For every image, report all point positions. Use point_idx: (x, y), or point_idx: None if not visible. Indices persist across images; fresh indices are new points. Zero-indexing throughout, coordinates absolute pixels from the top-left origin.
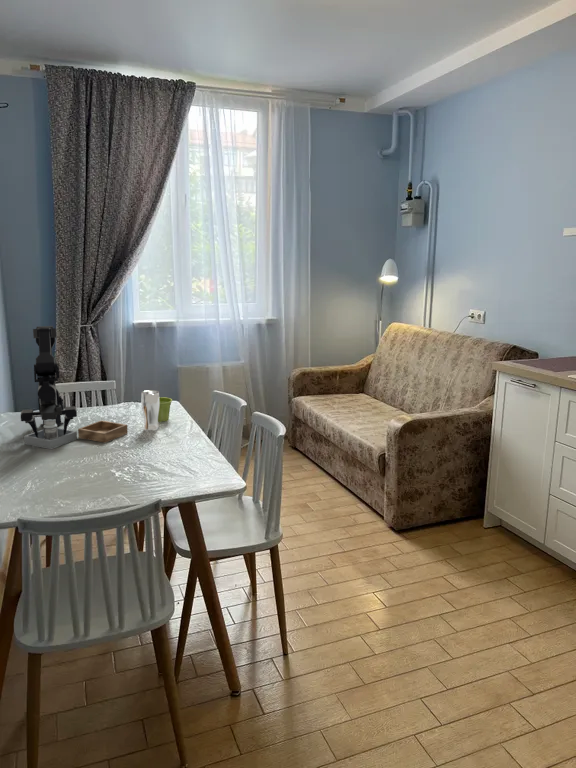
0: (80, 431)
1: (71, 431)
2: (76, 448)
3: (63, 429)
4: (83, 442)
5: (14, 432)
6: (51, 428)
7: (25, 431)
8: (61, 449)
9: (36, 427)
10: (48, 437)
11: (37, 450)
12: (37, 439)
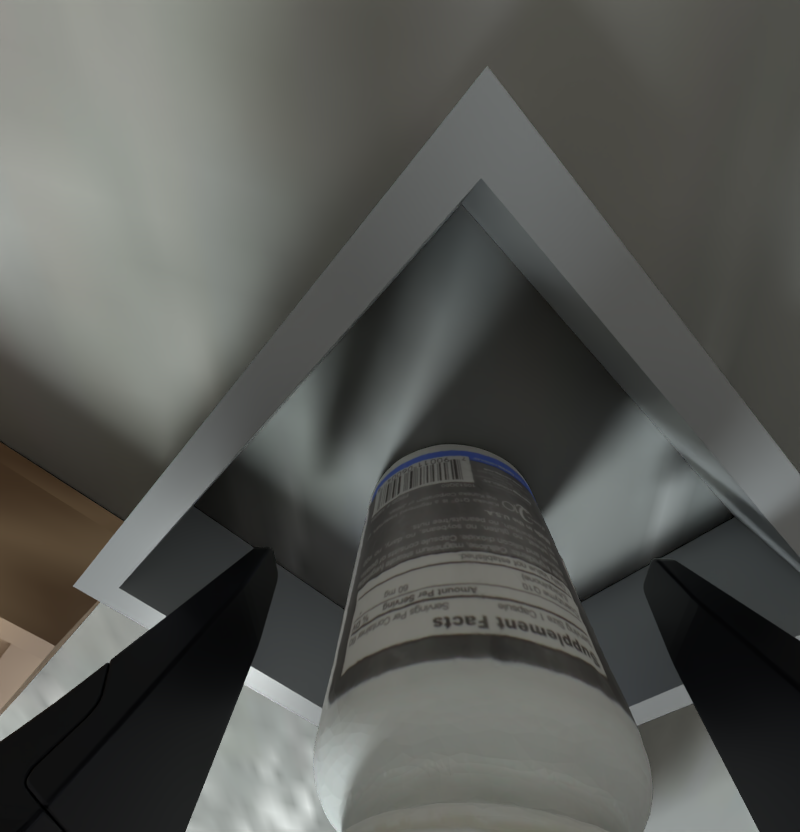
0: (44, 590)
1: (156, 607)
2: (19, 43)
3: (288, 699)
4: (32, 359)
5: (745, 805)
6: (446, 648)
7: (652, 800)
8: (280, 60)
9: (769, 793)
10: (498, 497)
11: (703, 134)
12: (733, 396)
